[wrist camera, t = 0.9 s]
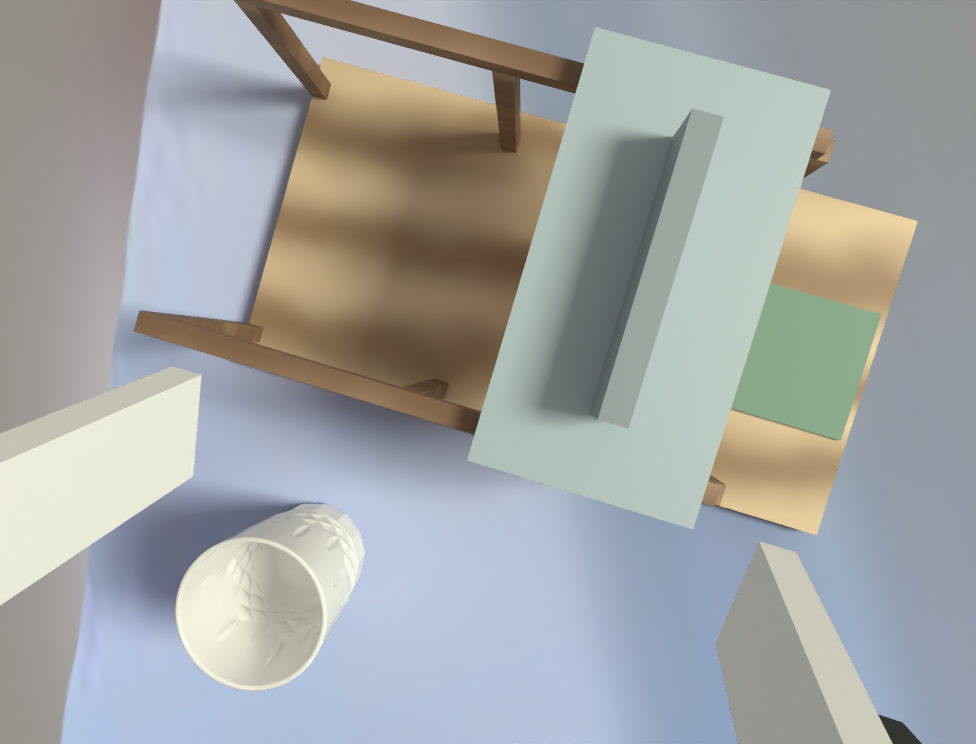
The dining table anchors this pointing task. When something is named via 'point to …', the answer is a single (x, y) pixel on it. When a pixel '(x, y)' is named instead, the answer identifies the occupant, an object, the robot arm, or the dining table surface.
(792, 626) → the robot arm
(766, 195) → the lid
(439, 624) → the dining table surface
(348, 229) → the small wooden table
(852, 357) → the felt pad
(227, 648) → the white cup
